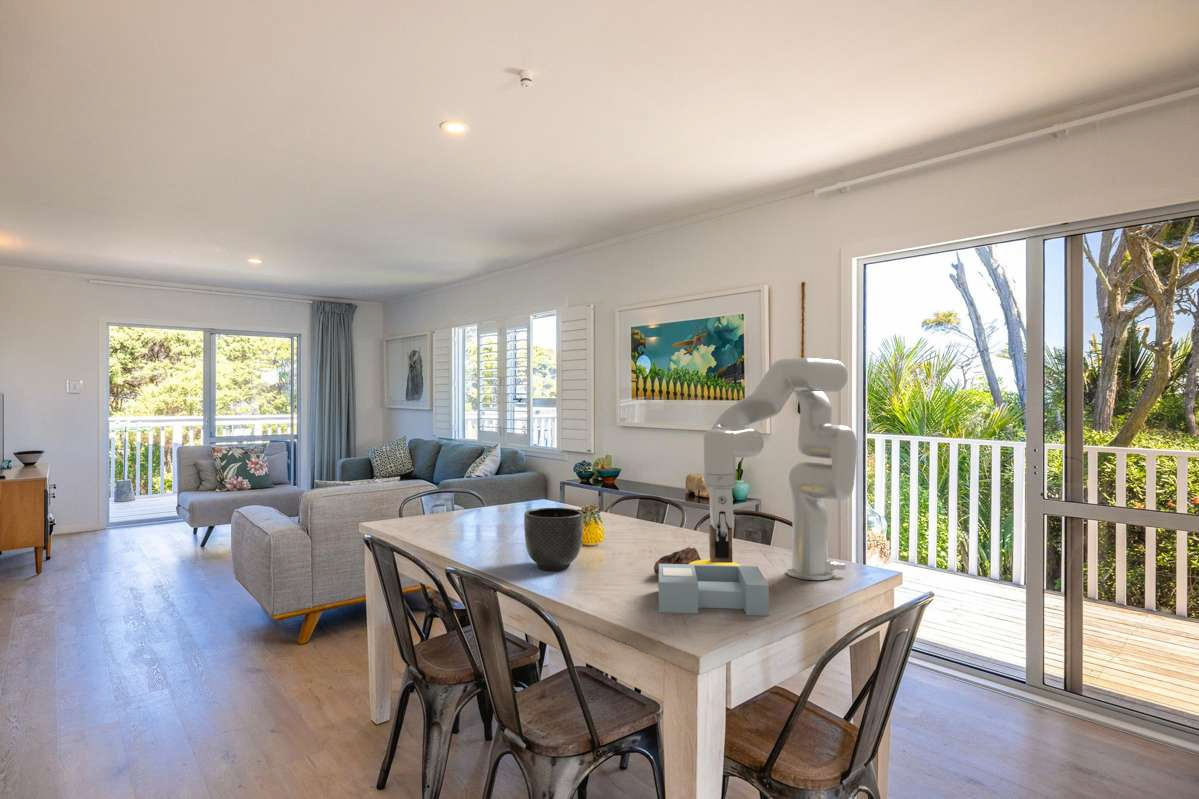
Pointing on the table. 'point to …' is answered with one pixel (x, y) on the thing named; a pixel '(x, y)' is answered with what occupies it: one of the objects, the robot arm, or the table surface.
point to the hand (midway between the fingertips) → (720, 553)
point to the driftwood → (678, 558)
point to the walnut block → (712, 546)
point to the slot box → (712, 588)
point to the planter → (553, 536)
